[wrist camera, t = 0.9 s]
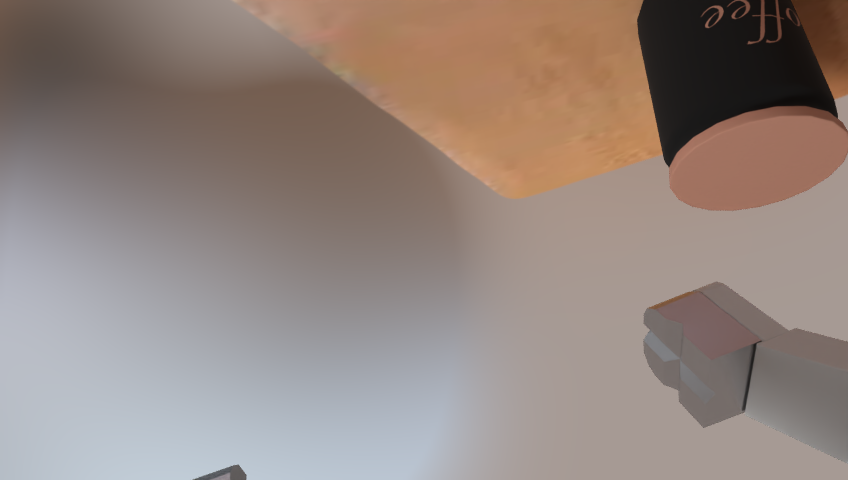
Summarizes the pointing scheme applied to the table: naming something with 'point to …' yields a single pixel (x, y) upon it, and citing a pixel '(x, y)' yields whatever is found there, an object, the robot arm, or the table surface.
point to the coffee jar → (738, 101)
